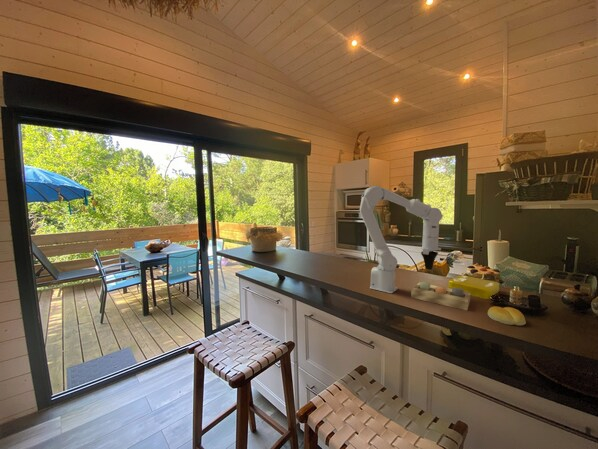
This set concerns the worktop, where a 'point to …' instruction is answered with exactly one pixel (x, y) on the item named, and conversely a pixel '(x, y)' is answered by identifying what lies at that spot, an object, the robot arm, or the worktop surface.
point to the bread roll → (507, 315)
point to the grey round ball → (458, 292)
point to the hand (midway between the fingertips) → (428, 269)
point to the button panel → (441, 297)
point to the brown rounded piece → (440, 290)
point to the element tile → (475, 286)
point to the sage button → (425, 286)
